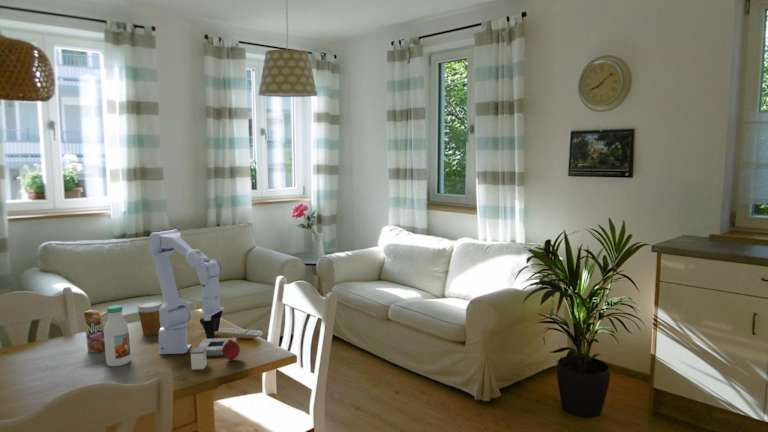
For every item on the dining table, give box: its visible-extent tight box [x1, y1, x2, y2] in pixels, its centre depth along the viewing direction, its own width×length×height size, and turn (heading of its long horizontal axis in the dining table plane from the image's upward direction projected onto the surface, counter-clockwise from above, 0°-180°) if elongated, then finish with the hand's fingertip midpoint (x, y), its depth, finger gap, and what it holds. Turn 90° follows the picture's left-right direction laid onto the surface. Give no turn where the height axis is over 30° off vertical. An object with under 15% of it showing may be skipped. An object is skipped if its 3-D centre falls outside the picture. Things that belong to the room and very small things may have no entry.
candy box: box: [83, 308, 108, 355], centre depth 203 cm, size 9×4×15 cm, turn 69°
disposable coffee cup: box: [136, 300, 163, 337], centre depth 223 cm, size 10×10×12 cm
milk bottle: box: [104, 304, 132, 367], centre depth 192 cm, size 8×8×20 cm
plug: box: [190, 347, 208, 370], centre depth 188 cm, size 4×4×6 cm
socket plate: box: [196, 337, 237, 358], centre depth 203 cm, size 12×12×2 cm
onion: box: [222, 337, 241, 362], centre depth 193 cm, size 6×6×8 cm
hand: (212, 334), depth 192 cm, fingers open, 7 cm apart
